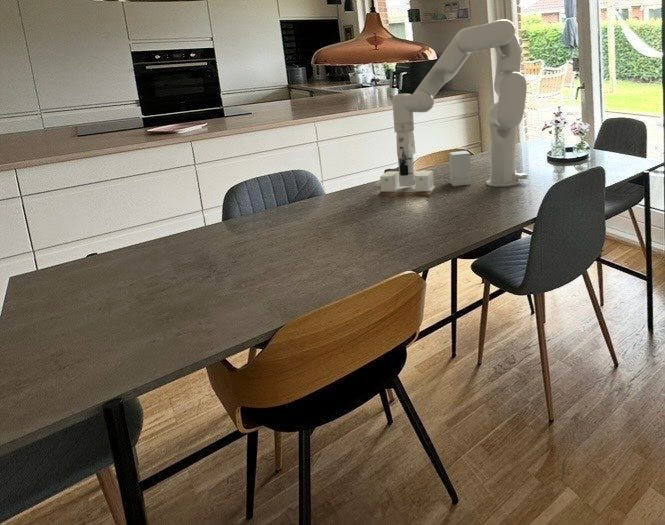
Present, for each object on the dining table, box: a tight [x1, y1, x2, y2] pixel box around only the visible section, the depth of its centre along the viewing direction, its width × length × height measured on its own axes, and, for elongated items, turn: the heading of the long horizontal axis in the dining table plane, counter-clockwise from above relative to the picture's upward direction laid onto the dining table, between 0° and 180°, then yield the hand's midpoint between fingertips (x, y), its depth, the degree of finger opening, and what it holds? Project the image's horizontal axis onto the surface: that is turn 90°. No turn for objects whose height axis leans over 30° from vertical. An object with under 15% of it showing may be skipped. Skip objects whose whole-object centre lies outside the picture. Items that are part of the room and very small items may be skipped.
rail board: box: [377, 185, 438, 198], centre depth 226 cm, size 21×12×2 cm, turn 67°
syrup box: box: [397, 149, 416, 186], centre depth 222 cm, size 6×6×14 cm
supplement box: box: [448, 150, 472, 187], centre depth 230 cm, size 7×7×13 cm
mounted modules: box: [379, 170, 435, 191], centre depth 224 cm, size 19×9×6 cm, turn 67°
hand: (406, 172), depth 223 cm, fingers closed on syrup box, 6 cm apart
